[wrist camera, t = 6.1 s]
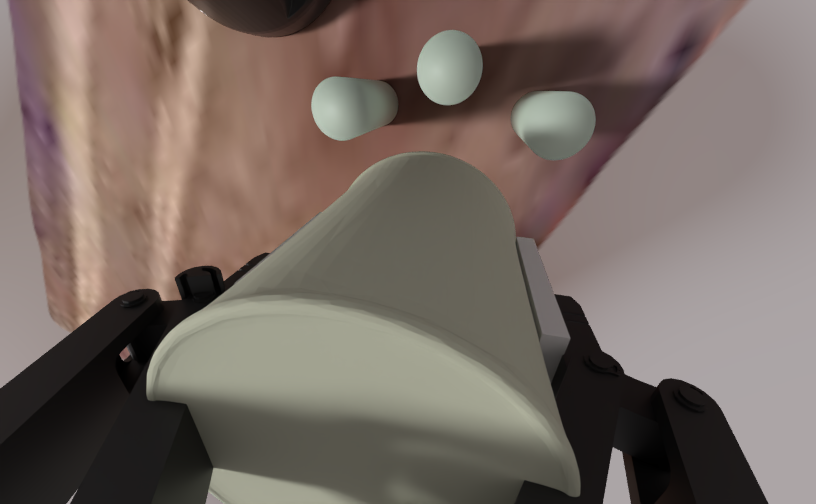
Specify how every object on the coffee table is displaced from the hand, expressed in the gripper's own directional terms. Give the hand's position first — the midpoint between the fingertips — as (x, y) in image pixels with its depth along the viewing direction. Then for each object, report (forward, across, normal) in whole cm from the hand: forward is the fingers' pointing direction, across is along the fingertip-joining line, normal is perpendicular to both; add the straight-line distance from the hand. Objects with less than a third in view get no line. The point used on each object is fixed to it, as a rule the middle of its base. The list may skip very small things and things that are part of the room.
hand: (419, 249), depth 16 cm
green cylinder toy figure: (+1, 0, 0) cm, 1 cm away
